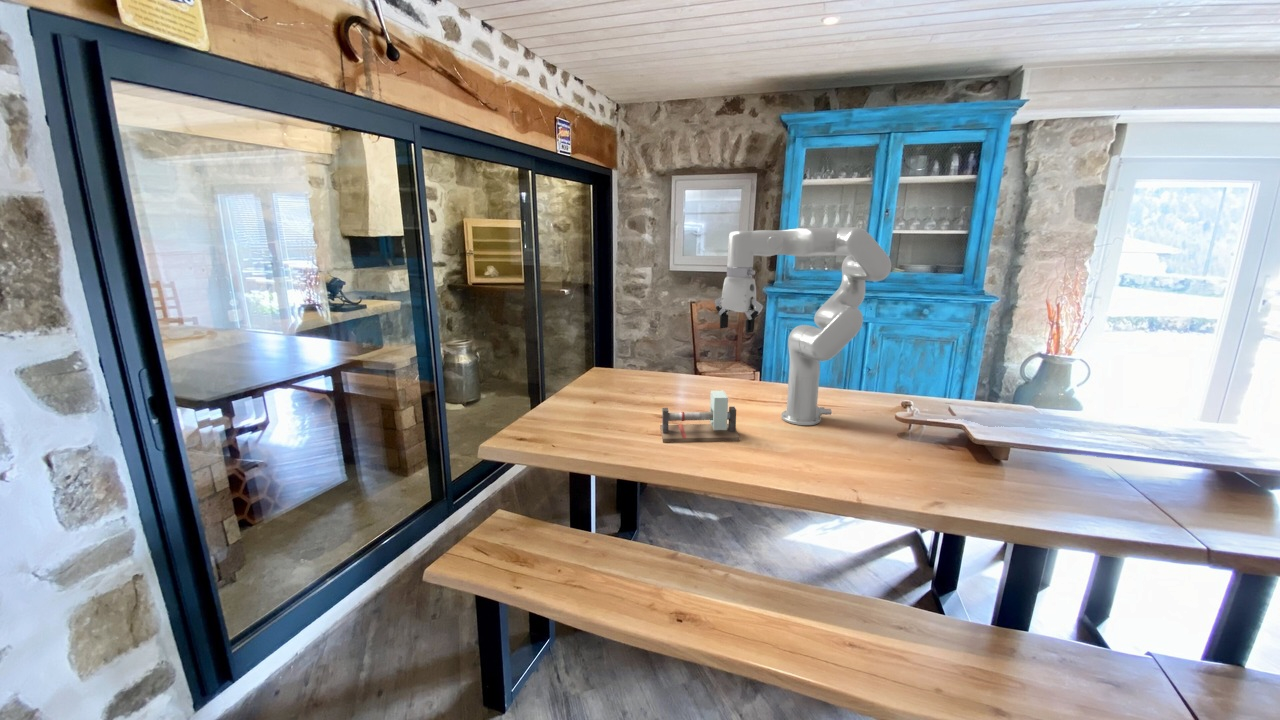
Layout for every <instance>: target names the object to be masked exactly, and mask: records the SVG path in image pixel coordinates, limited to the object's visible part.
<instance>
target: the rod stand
mask: <svg viewBox="0 0 1280 720" xmlns="http://www.w3.org/2000/svg"><path fill="white" fill-rule="evenodd" d="M710 420H713V412H710V411H707V412H706V411H705V412H704V411H703V412H702V411H700V412H699V411H698V412H694V411H693V412H691V411H690V412H684V411H681V412H669V409H668V407H662V424H660V427H659V428H660V434H661V440H662V443H699V442H700V443H702V442H703V443H704V442H706V443H709V442H740V439H741V437H740V435H739V433H738V432H737V430H736V427H737V409H736V407H735V406H728V413H727V421H728V423H727V430H713V428H712V425H711V423H706V424H705V423H701V424H697V423H695V424H683V423H682V424H681V423H680V424H669V422H671V421H672V422H676V421H677V422H679V421H681V422H685V421H710Z"/></svg>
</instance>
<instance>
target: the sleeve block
mask: <svg viewBox="0 0 1280 720" xmlns="http://www.w3.org/2000/svg"><path fill="white" fill-rule="evenodd" d="M709 399H710V402H709V403H710V406H709V410H710V411H709V412H713V420H709V422H710V423H709V424H711V425H712V428H713V430H727V424H728V420H727V413H728V412H729V397H728V395H727V394H726V392H725V390H710V398H709Z"/></svg>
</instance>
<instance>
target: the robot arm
mask: <svg viewBox="0 0 1280 720" xmlns="http://www.w3.org/2000/svg"><path fill="white" fill-rule="evenodd" d="M727 241H728V242H727V243H728V244H727V246H728V247H727V262H726V263H727V265H726V277H725V278H724V281H723V285H722V291H721V296H720V297H718V298H716V299H714V306H715V309H716V311H717V313H718V315H719V329H725V328H729V327H728V325H729V314H728V313H729V311H730V312H736V313H744V314H745V315H746V317H747V319H746V321H745V333H747V334H749V333H753V332H754V331H755V321H756V319H758V317H759V316H760V315H761V312H762V310H763V309H764V305H763V304H761V302H759V301H757V286H756V280H755V278H753V276H755V275H756V270H754V269H753V268H754V257H755V256H756V257H757V256H761V257H771V256H773V257H774V256H775V255H778V256H779V255H780V256H784V255H785V256H792V257H832V256H836V257H837V256H845V258H844V259H843V261H842V265H841V276H842V277H841V283H840V286H839V287H838V288H837V290H836V291H835V292H834V293H833V294H832V295H831V296H829V298H828V299H827V300H826V301H825V302H824V303H823V304H822V305H821V306H820V307H819V308H818V309H817V311H816V312H815V314H814V318H813V320H814V324H815V325H816V326H817V327H816V326H813V325H808V324H801V325H797V326H795V327H794V328H793V329H791V331H790V332H789V336H788V337H787V339H788V340H787V348H788V354H789V355H788V356H789V368H788V369H789V370H788V383H787V385H788V386H787V397H786V410H784V411H783V412H781V414H780V415H781V419H782V420H783V421H785V422H787V423H789V424H792V425H797V426H814V425H817V424H819V423H821V422H822V415H830V416H831V415H832V409H831V408H825V407H824V406H823V407H822V406H821V407H819V406H818V398H819V397H818V396H819V388H820V387H819V385H820V376H821V375H820V374H821V366H820V365H821V364H820V362H827V361H829V360H832V359H833V358H835V357H836V355H838V354H839V353H840V352H841V351H842V350H843V349H844V348H845V347H846V346H847V345H848V344H849V342H852V340H853V339H854V338H855V337H856V336H857V334H858V333H859V332H860V330H861V328H862V327H863V326H862V325H863V322H864V316H863V313H862V311H861V310H860V309H859V306H861V304H862V303H863V302H864V299H865V296H866V281H868V282H880V281H883V280H885V279H886V278H887V277H888V276H889V275H890V273H891V271H892V262H891V261H892V260H891V259H890V257H889V256H888V253H886V251H885V250H884V249H883V248H882V247H881V245H880V244H879V243H878V242H877V241H876V239H875V238H874V237H873V236H872V235H871V234H870V233H869V232H868V231H867V230H865V229H864V228H862V227H859V226H858V227H857V226H855V227H854V226H853V227H852V226H851V227H847V226H846V227H845V226H844V227H800V228H798V227H797V228H791V229H778V230H773V229H772V230H769V229H764V230H763V229H759V230H752V231H751V230H732V231H730V232H729V234H728V240H727Z"/></svg>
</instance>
